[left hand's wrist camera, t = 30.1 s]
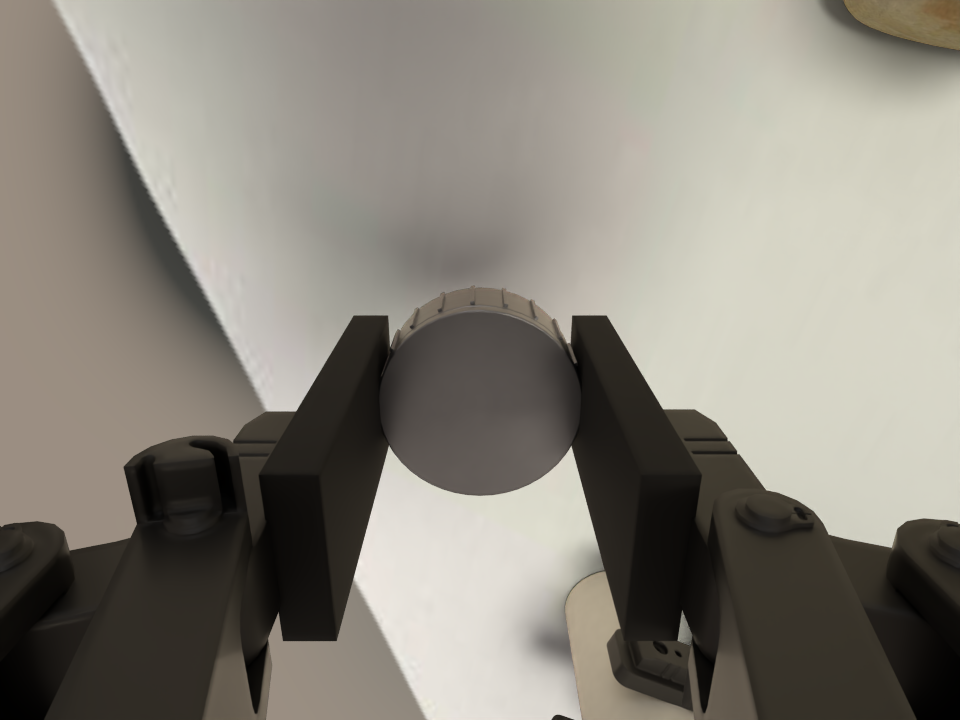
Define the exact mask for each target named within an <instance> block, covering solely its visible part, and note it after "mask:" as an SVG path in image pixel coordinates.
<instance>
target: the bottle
mask: <svg viewBox="0 0 960 720" xmlns="http://www.w3.org/2000/svg"><path fill="white" fill-rule="evenodd" d="M565 614H566V621H567V627H568V633H569V640H570V646H571V652H572V659H573V665H574V671H575V678H576V684H577V690H578V697H579V703H580V709H581V716H582V720H694V713H693V712H692V711H690V710H687V709H684V708H682V707H679V706H676V705H673V704H670V703H667V702H665V701H662V700H659V699H656V698H654V697H651V696H648V695H645V694H642V693H640V692H637V691H634V690H631V689H629V688H626V687H624V686H622V685H621V684H620V683H619V682H618V681H617V680H616V679H615V677H614V675H613V672H612V668H611V664H610V659H609V655H608V650H607V642H608V641H609V639H610V638H611V637H612V635H613V634H614V632H615V631H616V630H617V629H620V625H619V621H618V617H617V614H616V610H615V606H614V602H613V599H612V595H611V591H610V587H609V584H608V580H607V576H606V572H605V571H603V572H598V573H596V574H593V575H591V576H589V577H587V578H585V579H583V580H582V581H581V582H579V583H578V584H577V585H576V586H575V587H574V588H573V590H572V591H571V592H570V594H569V596H568V598H567V601H566V605H565Z"/></svg>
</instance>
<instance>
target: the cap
mask: <svg viewBox="0 0 960 720" xmlns="http://www.w3.org/2000/svg"><path fill="white" fill-rule="evenodd" d="M389 351H390V354H389V356H388V359H387V362H386V364H385V367H384V370H383V373H382V375H381V380H380V384H379V403H380V419H381V428H382V431H383V434H384V436H385V438H386V440H387V443H388V444H389V446H390V447H391V449H392V451H393V452H394V454H395V455H396V456H397V457H398V459H399V460H400V461H401V462H402V463H403V464H404V465H405V466H406V467H407V468H408V469H409V470H410V471H411V472H413V473H414V474H415V475H417V476H418V477H419V478H421V479H423V480H424V481H426V482H428V483H430V484H432V485H434V486H436V487H439V488H441V489H444V490H447V491H451V492H454V493H459V494H465V495H478V496H482V495H495V494H501V493H506V492H510V491H513V490H517V489H519V488H522V487H524V486H527V485H529V484H531V483H533V482H534V481H536V480H538V479H540V478H541V477H542V476H544V475H545V474H547V473H548V472H549V471H550V470H551V469H553V468H554V467H555V466H556V465H557V464H558V463H559V462H560V461H561V459H562V458H563V457H564V456H565V454H566V453H567V452H568V450H569V448H570V447H571V445H572V444H573V442H574V439H575V437H576V435H577V433H578V430H579V424H580V410H581V394H582V386H581V382H580V379H579V375H578V372H577V369H576V366H578V363H577V361H576V358H575V355H574V353H573V350H572V347H571V345H570V343H568V344H567V342H566V340H565V338H564V336H563V334H562V332H561V331H560V329H559V326H558V323H557V321H556V319H555V318H554V319H553V320H552V319H551V318H550V316H549V315H548V314H546V313H545V312H544V311H543V310H542V309H541V308H540V307H538V306H537V305H535V301H534V300H532V299H531V300H530V301H529V300H527V299H525V298H523V297H521V296H519V295H516V294H513V293H510V292H507V291H506V289H505V288H502V290H498V289H493V288H475V286H471V288H468V289H462V290H457V291H453V292H450V293H447V294H445V293H444V292H443V293H441V294H440V297H438V298H436V299H433V300H432V301H430V302H429V303H427V304H425V305H424V306H422V307H421V308H420V309H419V308H418V307H417V308H416V309H415V311H414V314H413V315H412V316H411V317H410V318H409V319H408V321H407V322H406V323H405V324H404V326H403V327H402V329H401V330H397V331H396V334H395V336H394V339H393V342H392V344H391V347H390V350H389Z"/></svg>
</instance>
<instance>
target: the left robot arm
mask: <svg viewBox="0 0 960 720" xmlns="http://www.w3.org/2000/svg"><path fill="white" fill-rule="evenodd" d="M571 347H572V350H573V353H574V355H575V358H576V361H577V363H578V366H576V369H577V372H578V375H579V379H580V382H581V386H582V394H581V410H580V424H579V430H578V433H577V435H576V437H575V439H574V442H573V444H572V449H573V453H574V457H575V460H576V464H577V468H578V472H579V475H580V479H581V483H582V487H583V490H584V494H585V498H586V501H587V505H588V509H589V513H590V516H591V520H592V524H593V528H594V531H595V535H596V539H597V543H598V546H599V550H600V554H601V558H602V561H603V565H604V569H605V572H606V576H607V580H608V584H609V587H610V591H611V595H612V599H613V602H614V606H615V610H616V614H617V617H618V621H619V625H620V629H621V632H622V636H623V640H624V641H677V640H678V634H679V627H680V620H681V613H682V610H683V613H684V615H685V618H686V620H687V623H688V625H689V628H690V630H691V632H692V635H693V636H692V642H691V648H690V655H689V661H688V667H687V673H686V680H685V686H684V692H683V699H682V705H681V706H682V707H688V708H690V704H691V699H692V704H693V713H694V720H960V524H958V522H954V521H948V520H935V519H918V520H912V521H907V522H905V523H904V524H903V525H902V526H900V527H899V528H898V529H897V532H896V535H895V539H894V542H893V546H892V548H889V547H884V546H879V545H874V544H868V543H863V542H858V541H853V540H848V539H843V538H839V537H835V536H831V535H828V533H827V530H826V528H825V526H824V524H823V523H822V521H821V520H820V519H819V518H818V516H817V515H816V514H815V513H814V511H812V510H811V509H809V508H808V507H806V506H805V505H803V504H802V503H800V502H799V501H797V500H795V499H792V498H790V497H787V496H785V495H782V494H780V493H776V492H771V491H767V490H766V489H765V488H764V487H763V485H762V484H761V483H760V481H759V480H758V479H757V477H756V476H755V475H754V473H753V472H752V471H751V469H750V468H749V467H748V465H747V464H746V463H745V461H744V460H743V458H742V457H741V456H740V454H737V450H736V449H735V448H734V446H733V445H732V444H731V442H730V441H728V440H727V437H726V436H725V434H724V433H723V432H722V430H721V429H720V428H719V426H718V425H717V423H716V422H714V421H712V420H711V419H709V418H707V417H706V416H704V415H703V414H701V413H699V412H698V411H696V410H663V409H662V407H661V405H660V404H659V402H658V400H657V399H656V397H655V395H654V394H653V392H652V390H651V389H650V387H649V385H648V384H647V382H646V380H645V379H644V377H643V375H642V374H641V372H640V370H639V369H638V367H637V365H636V364H635V362H634V360H633V359H632V357H631V355H630V354H629V352H628V350H627V349H626V347H625V345H624V344H623V342H622V340H621V339H620V337H619V335H618V334H617V332H616V330H615V329H614V327H613V325H612V324H611V322H610V320H609V319H608V317H607V316H572V330H571ZM389 350H390V340H389V322H388V316H353V318H352V320H351V321H350V323H349V325H348V326H347V328H346V330H345V331H344V333H343V335H342V336H341V338H340V340H339V341H338V343H337V345H336V346H335V348H334V350H333V351H332V353H331V355H330V356H329V358H328V360H327V361H326V363H325V365H324V366H323V368H322V370H321V371H320V373H319V375H318V376H317V378H316V380H315V381H314V383H313V385H312V386H311V388H310V390H309V391H308V393H307V395H306V396H305V398H304V400H303V401H302V403H301V405H300V406H299V408H298V410H297V411H296V412H265V413H263V414H261V415H260V416H258V417H257V418H255V419H253V420H252V421H250V422H249V423H247V424H245V425H244V427H243V428H242V429H241V431H240V432H239V434H238V435H237V436H236V438H235V439H234V441H233V443H232V442H231V441H230V440H228V439H225V438H220V437H216V436H189V437H183V438H177V439H172V440H169V441H166V442H163V443H160V444H157V445H154V446H151V447H149V448H147V449H146V450H144V451H142V452H140V453H139V454H137V455H135V456H134V457H133V458H132V459H131V460H130V461H129V462H128V463H127V464H126V465H125V466H124V471H125V475H126V479H127V484H128V488H129V492H130V496H131V500H132V505H133V509H134V513H135V517H136V522H137V525H136V527H135V530H134V532H133V534H132V536H131V538H128V539H125V540H121V541H117V542H112V543H107V544H102V545H96V546H91V547H86V548H81V549H76V550H71V551H69V548H68V544H67V541H66V537H65V534H64V531H62V530H61V529H60V528H59V527H57V526H56V525H55V524H50V523H44V522H38V521H36V522H25V523H13V524H8V525H4V526H3V527H1V526H0V720H266V714H267V705H268V697H269V688H270V679H271V670H272V661H271V655H270V649H269V642H268V637H269V634H270V632H271V629H272V627H273V624H274V622H275V619H276V617H277V614H278V612H279V617H280V624H281V631H282V637H283V641H337V637H338V634H339V630H340V626H341V623H342V619H343V615H344V611H345V608H346V604H347V600H348V596H349V593H350V589H351V585H352V582H353V578H354V574H355V570H356V567H357V563H358V559H359V555H360V552H361V548H362V544H363V540H364V537H365V533H366V529H367V525H368V522H369V518H370V514H371V511H372V507H373V503H374V499H375V496H376V492H377V488H378V484H379V481H380V477H381V473H382V469H383V466H384V462H385V458H386V454H387V451H388V447H389V444H388V443H387V440H386V438H385V436H384V434H383V431H382V428H381V419H380V403H379V384H380V380H381V375H382V373H383V370H384V367H385V364H386V362H387V359H388V356H389V354H390V351H389Z"/></svg>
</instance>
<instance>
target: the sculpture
mask: <svg viewBox="0 0 960 720" xmlns="http://www.w3.org/2000/svg"><path fill="white" fill-rule="evenodd" d="M843 1H844V4H845V6H846V7H847V9H848V11H849V12H850V13H851V14H852V15H853V16H854V17H855V18H856V19H857V20H858V21H860V22H861V23H863V24H865V25H867V26H868V27H871V28H873V29H876V30H879V31H882V32H884V33H887V34H890V35H893V36H897V37H900V38H904V39H908V40H912V41H916V42H920V43H925V44H929V45H933V46H939V47H944V48H950V49H955V50H960V0H843Z"/></svg>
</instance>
